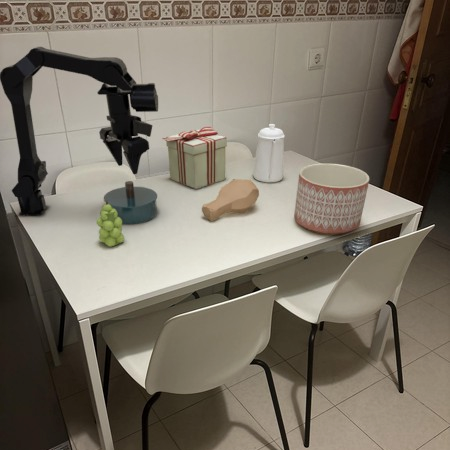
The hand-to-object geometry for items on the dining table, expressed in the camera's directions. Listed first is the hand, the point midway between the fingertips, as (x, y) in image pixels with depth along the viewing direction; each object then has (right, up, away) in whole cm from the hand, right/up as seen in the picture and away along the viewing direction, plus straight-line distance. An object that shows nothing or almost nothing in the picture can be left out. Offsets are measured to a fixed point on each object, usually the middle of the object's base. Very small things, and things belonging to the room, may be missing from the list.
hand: (127, 169), depth 128 cm
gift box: (+17, +6, +33) cm, 37 cm away
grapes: (-3, -22, -7) cm, 23 cm away
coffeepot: (+43, +7, +35) cm, 56 cm away
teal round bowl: (0, -11, +8) cm, 14 cm away
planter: (+58, -15, +5) cm, 60 cm away
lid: (0, -7, +5) cm, 9 cm away
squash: (+30, -10, +10) cm, 33 cm away
